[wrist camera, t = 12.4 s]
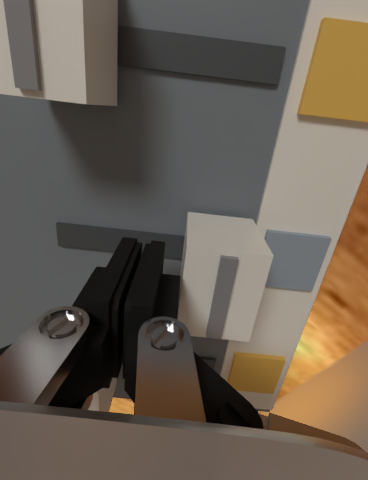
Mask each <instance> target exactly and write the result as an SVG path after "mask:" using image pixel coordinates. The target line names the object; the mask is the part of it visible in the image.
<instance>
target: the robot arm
mask: <svg viewBox="0 0 368 480" xmlns="http://www.w3.org/2000/svg"><path fill="white" fill-rule="evenodd" d="M164 253H165V242H163V241H154V240H152V241H151V244H149V243H146V244H145V247H144V250H143V252H142V243H140V242H138V241H137V238H128V237H123V238H122V239H121V241H120V243H119V245H118V246H117V248H116V250H115V252H114V254H113V256H112V257H111V259H110V261H109V263H108V265H107V266H106V267H99V266H98V267H96V268H95V269H94V271H93V272H92V274H91V276H90V277H89V279H88V281H87V282H86V284H85V285H84V287H83V289H82V290H81V292H80V294H79V295H78V297H77V298H76V300H75V302H74V303H73V305H72V306H64V307H58V308H54V309H51V310H49V311H47V312H45V313H43V314H42V315H41V316H40V317H38V318H37V319H36V320H35V321H34V322H33V323H32V324H31V325H30V326H29V327H28V328H27V329H26V330H25V331H24V332H23V333H22V334H21V335H20V336H19V337H18V338H17V339H16V341H15V342H14V343H13V344H10V345H8V346H5V347H3V348H1V349H0V480H368V453H367V452H366V451H364V450H363V449H362V448H361V447H360V446H358V445H357V444H356V443H354V442H352V441H350V440H348V439H346V438H344V437H341V436H338V435H335V434H332V433H329V432H326V431H323V430H320V429H317V428H314V427H311V426H308V425H305V424H302V423H299V422H296V421H293V420H290V419H287V418H284V417H281V416H278V415H275V414H272V413H269V416H268V417H267V416H264V415H261V414H259V413H258V411H257V410H256V409H255V408H254V407H253V405H252V404H251V403H250V402H249V401H248V400H247V399H245V398H244V397H243V396H242V395H241V394H240V393H239V392H238V391H237V390H236V389H234V388H233V387H232V386H231V385H230V384H229V383H228V382H227V381H226V380H224V379H223V378H222V377H221V376H220V375H219V374H218V373H217V372H216V371H215V370H213V369H212V368H211V367H210V366H209V365H208V364H207V363H206V362H205V361H204V360H202V359H201V358H200V357H199V356H198V355H197V354H196V353H195V352H194V351H193V347H192V342H191V336H190V333H189V330H188V328H187V327H186V326H185V325H184V323H182V322H180V321H179V320H177V319H178V306H179V292H180V279H181V276H179V275H170V274H163V264H164ZM122 363H123V376H122V377H123V379H125V384H124V390H125V391H126V393H127V394H128V395H129V397H130V398H131V399H132V401H133V402H134V403H135V404H134V415H132V414H122V413H113V412H103V411H93V410H88V409H89V407H90V405H91V402H92V399H93V394H94V393H95V392H97V391H99V390H100V389H102V388H109V387H110V384H111V381H112V378H118V377H119V373H120V370H121V366H122Z"/></svg>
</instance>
